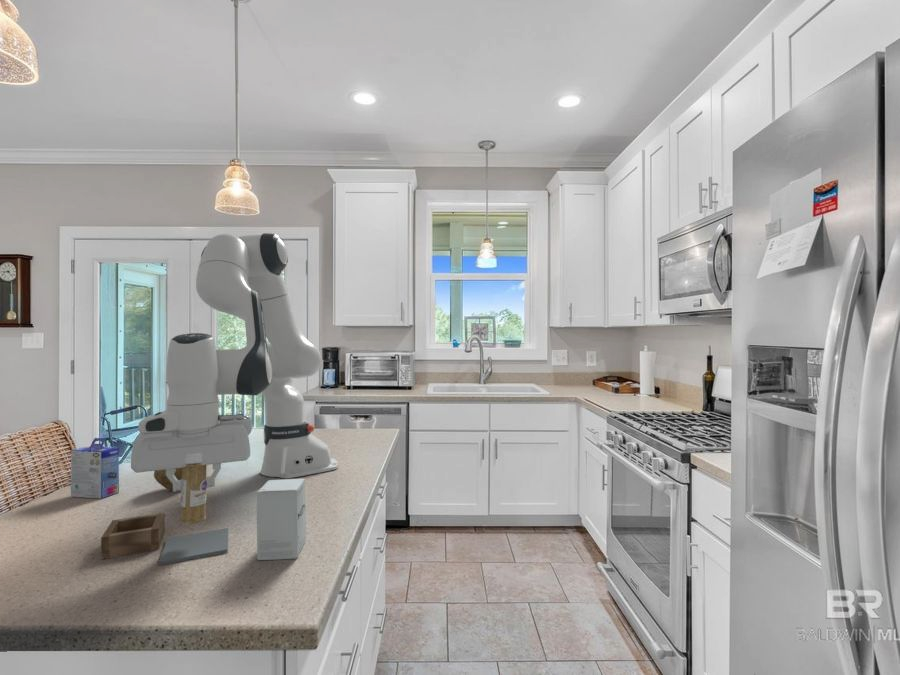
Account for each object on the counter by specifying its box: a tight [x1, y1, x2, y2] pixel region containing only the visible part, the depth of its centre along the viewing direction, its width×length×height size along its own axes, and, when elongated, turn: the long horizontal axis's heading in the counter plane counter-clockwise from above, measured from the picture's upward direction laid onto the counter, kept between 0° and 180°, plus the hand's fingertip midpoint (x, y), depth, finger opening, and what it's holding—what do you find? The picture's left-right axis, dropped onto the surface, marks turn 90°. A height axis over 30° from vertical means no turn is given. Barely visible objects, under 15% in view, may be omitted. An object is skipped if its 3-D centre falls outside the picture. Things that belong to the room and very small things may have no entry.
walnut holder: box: [100, 512, 166, 560], centre depth 92 cm, size 9×9×4 cm
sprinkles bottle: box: [179, 453, 208, 525], centre depth 91 cm, size 5×5×14 cm
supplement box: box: [256, 478, 307, 561], centre depth 89 cm, size 7×7×13 cm
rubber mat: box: [158, 527, 229, 566], centre depth 91 cm, size 11×11×1 cm
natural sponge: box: [153, 468, 182, 492], centre depth 125 cm, size 9×9×10 cm
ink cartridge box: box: [70, 437, 120, 499], centre depth 122 cm, size 10×6×14 cm, turn 78°
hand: (194, 488), depth 91 cm, fingers closed on sprinkles bottle, 4 cm apart
